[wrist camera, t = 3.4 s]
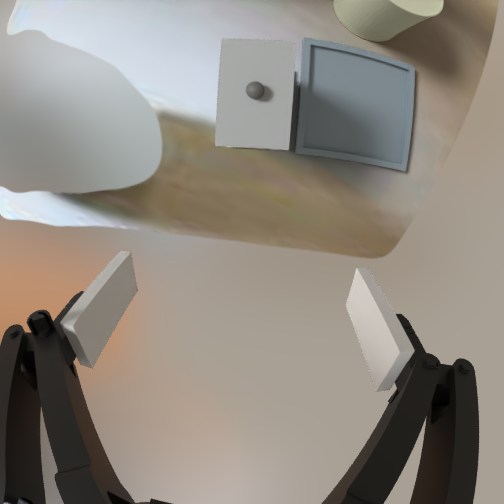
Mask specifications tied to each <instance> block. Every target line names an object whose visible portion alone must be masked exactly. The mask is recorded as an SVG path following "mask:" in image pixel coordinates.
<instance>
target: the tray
mask: <svg viewBox="0 0 504 504" xmlns="http://www.w3.org/2000/svg"><path fill="white" fill-rule="evenodd" d="M414 85H415V66H412V65H409V64H407V63H404V62H401V61H398V60H395V59H393V58H389V57H386V56H383V55H380V54H377V53H373V52H370V51H366V50H362V49H358V48H354V47H350V46H346V45H341V44H337V43H332V42H327V41H321V40H315V39H309V38H304V39H303V41H302V60H301V77H300V93H299V107H298V120H297V132H296V144H295V153H296V154H304V155H313V156H321V157H328V158H335V159H342V160H348V161H355V162H361V163H366V164H372V165H377V166H382V167H387V168H392V169H397V170H401V171H406V167H407V161H408V154H409V146H410V138H411V129H412V118H413V105H414Z"/></svg>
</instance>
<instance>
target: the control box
mask: <svg viewBox="0 0 504 504" xmlns="http://www.w3.org/2000/svg"><path fill="white" fill-rule="evenodd" d="M295 56H296V43H295V42H286V41H276V40H261V39H222V43H221V55H220V68H219V82H218V98H217V116H216V137H215V146H227V147H236V148H251V149H266V150H279V149H281V150H289V141H290V129H291V116H292V103H293V88H294V73H295Z"/></svg>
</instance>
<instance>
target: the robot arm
mask: <svg viewBox="0 0 504 504" xmlns="http://www.w3.org/2000/svg"><path fill="white" fill-rule="evenodd" d="M137 291H138V289H137V284H136V278H135V273H134V268H133V261H132V255H131V252H124V251H120V252H119V253H118V254H117V255H116V256H115V257H114V259H113V260H112V261H111V262H110V263H109V264H108V265H107V266H106V267H105V268H104V270H103V271H102V272H101V273H100V274H99V275H98V277H97V278H96V279H95V280H94V281H93V282H92V283H91V285H90V286H89V287H88V288H87V289H86V291H85V292H83V291H81V292H80V293H78V294H76V295H75V296H74V297H73V298H72V299H71V300H70V301H69V303H68V304H67V305H66V306H65V308H64V309H63V310H62V311H61V312H60V314H59V315H58V316H57V318H56V319H55V320H54V321H53V320H52V318H51V316H50V313H49V312H48V311H47V310H38V311H36V312H34V313H32V314H31V315H30V316H29V318H28V319H27V324H28V326H29V328H30V330H31V332H32V333H25V331H24V329H23V327H22V326H21V325H17V324H16V325H12V326H11V327H9V328H8V329H7V330H6V331H5V333H4V336H3V339H2V342H1V345H0V504H46V500H45V490H44V483H43V475H42V463H41V448H40V447H41V446H40V411H41V407H42V412H43V417H44V422H45V426H46V430H47V434H48V438H49V442H50V446H51V449H52V453H53V456H54V459H55V462H56V465H57V469H58V473H56V474H55V481H56V485H57V487H58V490H59V493H60V495H61V498H62V500H63V502H64V504H171V503H167V502H163V501H158V500H155V499H151V500H150V502H140V503H135V502H134V500H133V499H132V498H131V496H130V494H129V493H128V492H127V490H126V489H125V488H124V487H123V486H122V484H121V483H120V481H119V479H118V477H117V476H116V474H115V472H114V470H113V468H112V466H111V464H110V462H109V460H108V457H107V455H106V453H105V451H104V448H103V446H102V444H101V442H100V439H99V437H98V434H97V432H96V430H95V427H94V424H93V422H92V419H91V416H90V413H89V410H88V407H87V404H86V401H85V398H84V395H83V392H82V389H81V385H80V381H79V378H78V374H77V370H76V367H75V365H74V363H73V361H74V360H75V358H76V357H77V359H78V361H79V363H80V364H81V365H83V366H86V367H90V368H93V367H94V365H95V363H96V361H97V360H98V358H99V356H100V354H101V352H102V350H103V349H104V347H105V345H106V343H107V341H108V340H109V338H110V336H111V334H112V332H113V331H114V329H115V328H116V326H117V324H118V322H119V321H120V319H121V317H122V316H123V314H124V312H125V311H126V309H127V307H128V306H129V304H130V302H131V301H132V299H133V297H134V296H135V294H136V293H137ZM346 308H347V310H348V313H349V316H350V318H351V321H352V324H353V326H354V329H355V332H356V335H357V338H358V340H359V343H360V346H361V349H362V352H363V355H364V358H365V361H366V364H367V367H368V370H369V373H370V375H371V378H372V382H373V385H374V388H375V391H376V392H378V391H386V390H390V388H391V387H392V385H393V384H394V383H395V384H396V387H397V389H396V391H395V392H394V394H393V395H392V396H391V398H390V399H389V400H388V402H389V404H388V406H387V408H386V410H385V412H384V413H383V415H382V417H381V419H380V421H379V422H378V424H377V426H376V428H375V430H374V431H373V433H372V434H371V436H370V438H369V439H368V441H367V443H366V444H365V446H364V447H363V449H362V450H361V452H360V453H359V455H358V456H357V458H356V459H355V461H354V462H353V464H352V465H351V467H350V468H349V469H348V471H347V472H346V474H345V475H344V476H343V478H342V479H341V480H340V482H339V483H338V484H337V486H336V487H335V488H334V489H333V491H332V492H331V493H330V494H329V496H328V497H327V498H326V499H325V500H324V501H323V503H322V504H384V502H385V500H386V499H387V497H388V495H389V494H390V492H391V490H392V489H393V487H394V485H395V483H396V482H397V480H398V478H399V476H400V474H401V472H402V470H403V468H404V466H405V464H406V462H407V460H408V458H409V456H410V454H411V452H412V450H413V447H414V445H415V443H416V440H417V438H418V436H419V433H420V431H421V429H422V426H423V423H424V421H425V418H426V426H425V434H424V441H423V447H422V453H421V459H420V464H419V469H418V473H417V478H416V482H415V486H414V490H413V494H412V497H411V501H410V504H473V499H474V493H475V486H476V479H477V478H476V477H477V469H478V454H479V411H478V396H477V386H476V377H475V370H474V367H473V366H472V364H471V363H470V362H469V361H467V360H465V359H457V360H456V361H455V362H454V364H453V365H445V364H441V363H440V361H439V360H438V358H437V357H435V356H434V355H432V354H429V353H426V352H425V350H424V348H423V346H422V344H421V342H420V341H419V339H418V337H417V335H416V334H415V331H414V330H413V329H412V326H411V325H410V323H409V321H408V320H407V319H406V318H405V317H404V316H403V315H402V314H395V313H394V311H393V309H392V307H391V305H390V304H389V302H388V300H387V299H386V297H385V295H384V293H383V292H382V290H381V288H380V287H379V285H378V283H377V282H376V280H375V278H374V277H373V275H372V273H371V272H370V270H369V269H368V268H356V272H355V276H354V279H353V283H352V286H351V290H350V293H349V296H348V299H347V303H346ZM426 416H427V417H426Z"/></svg>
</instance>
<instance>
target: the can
mask: <svg viewBox="0 0 504 504" xmlns="http://www.w3.org/2000/svg"><path fill="white" fill-rule="evenodd" d="M333 5H334V10H335V13H336V15H337V17H338V19H339V20H340V22H341V23H342V24H343V25H344V26H345V27H346V28H347V29H348V30H349V31H351V32H352V33H354V34H355V35H357V36H359V37H361V38H363V39H366V40H369V41H374V42H383V41H388V40H390V39H392V38H393V37H394V36H395V35H396V34H398V33H400V32H402V31H404V30H405V29H407V28H409V27H411V26H413V25H415V24H417V23H419V22H421V21H423V20H426V19H428V18H430V17H434V16H437V15H438V14H439V13H440V12H441V11H442V9H443V6H444V0H334V2H333Z"/></svg>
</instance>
